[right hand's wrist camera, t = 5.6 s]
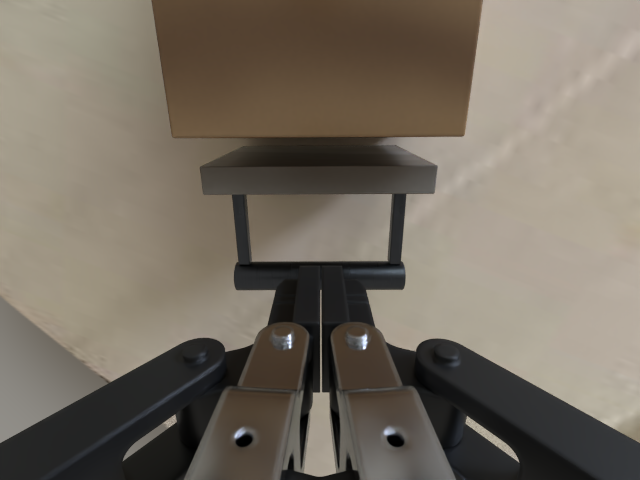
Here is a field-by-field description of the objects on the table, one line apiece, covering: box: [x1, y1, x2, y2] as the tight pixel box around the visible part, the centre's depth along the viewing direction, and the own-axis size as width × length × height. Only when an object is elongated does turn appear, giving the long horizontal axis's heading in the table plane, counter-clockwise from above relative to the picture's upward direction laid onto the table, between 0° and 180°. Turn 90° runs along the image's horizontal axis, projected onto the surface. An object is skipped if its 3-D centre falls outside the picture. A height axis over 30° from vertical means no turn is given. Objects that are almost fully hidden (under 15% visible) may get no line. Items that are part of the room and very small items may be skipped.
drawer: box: [200, 145, 437, 290], centre depth 17 cm, size 22×10×8 cm, turn 0°
